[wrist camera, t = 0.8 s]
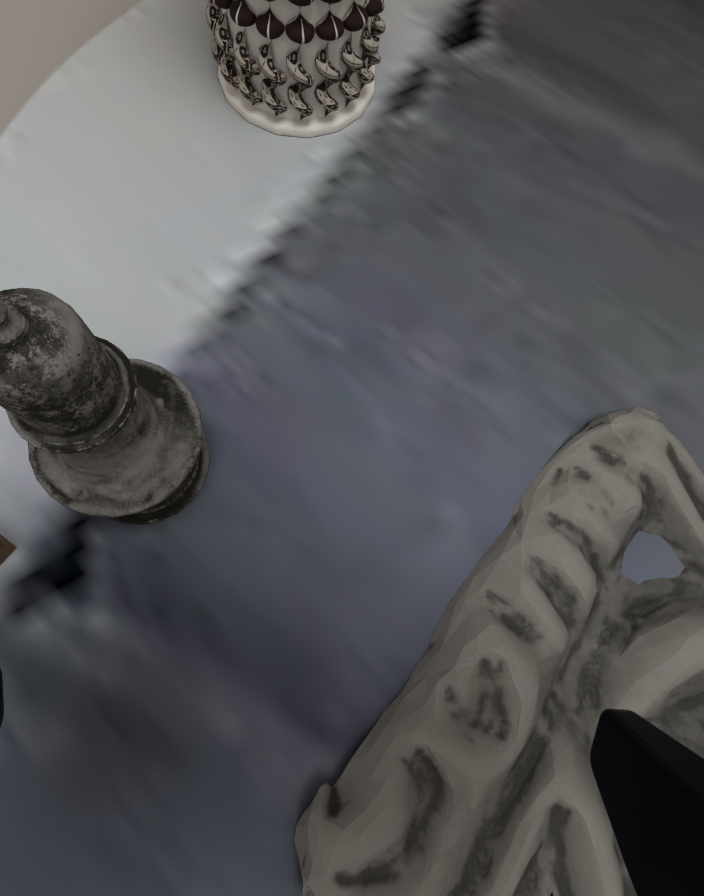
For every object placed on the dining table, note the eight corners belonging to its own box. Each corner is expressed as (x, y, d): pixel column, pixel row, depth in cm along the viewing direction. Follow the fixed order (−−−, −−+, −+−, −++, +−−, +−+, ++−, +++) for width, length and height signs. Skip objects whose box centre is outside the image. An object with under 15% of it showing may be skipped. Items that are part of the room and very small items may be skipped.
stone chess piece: (65, 537, 21) (-214, 450, 10) (74, 398, 23) (-156, 183, 11) (218, 526, 22) (126, 432, 10) (215, 391, 23) (134, 182, 12)
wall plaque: (727, 1269, 17) (847, 1454, 13) (265, 856, 19) (256, 915, 15) (946, 642, 24) (1067, 647, 20) (586, 386, 26) (634, 348, 22)
